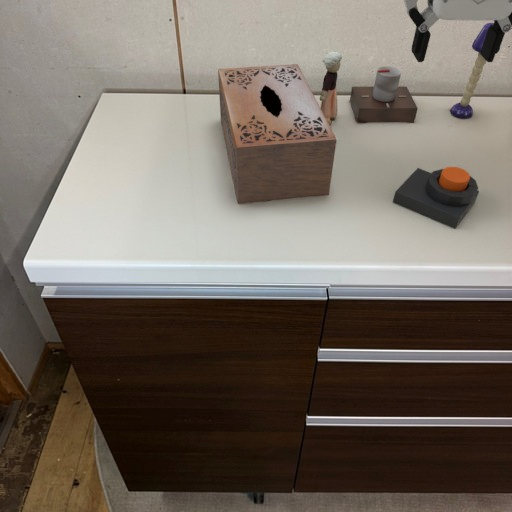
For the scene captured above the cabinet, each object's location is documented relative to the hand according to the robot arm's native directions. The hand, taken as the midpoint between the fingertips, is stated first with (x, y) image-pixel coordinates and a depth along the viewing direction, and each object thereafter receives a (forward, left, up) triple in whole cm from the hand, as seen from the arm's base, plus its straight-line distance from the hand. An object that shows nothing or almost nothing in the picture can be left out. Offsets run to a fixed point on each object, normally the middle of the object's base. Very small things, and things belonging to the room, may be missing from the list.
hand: (452, 58), depth 67 cm
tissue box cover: (+22, +13, -18) cm, 32 cm away
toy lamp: (+1, -22, -18) cm, 29 cm away
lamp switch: (-7, +7, -15) cm, 18 cm away
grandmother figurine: (+21, -4, -18) cm, 29 cm away
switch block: (-6, +8, -18) cm, 21 cm away
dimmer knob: (+14, -13, -15) cm, 25 cm away
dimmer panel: (+14, -13, -18) cm, 27 cm away
